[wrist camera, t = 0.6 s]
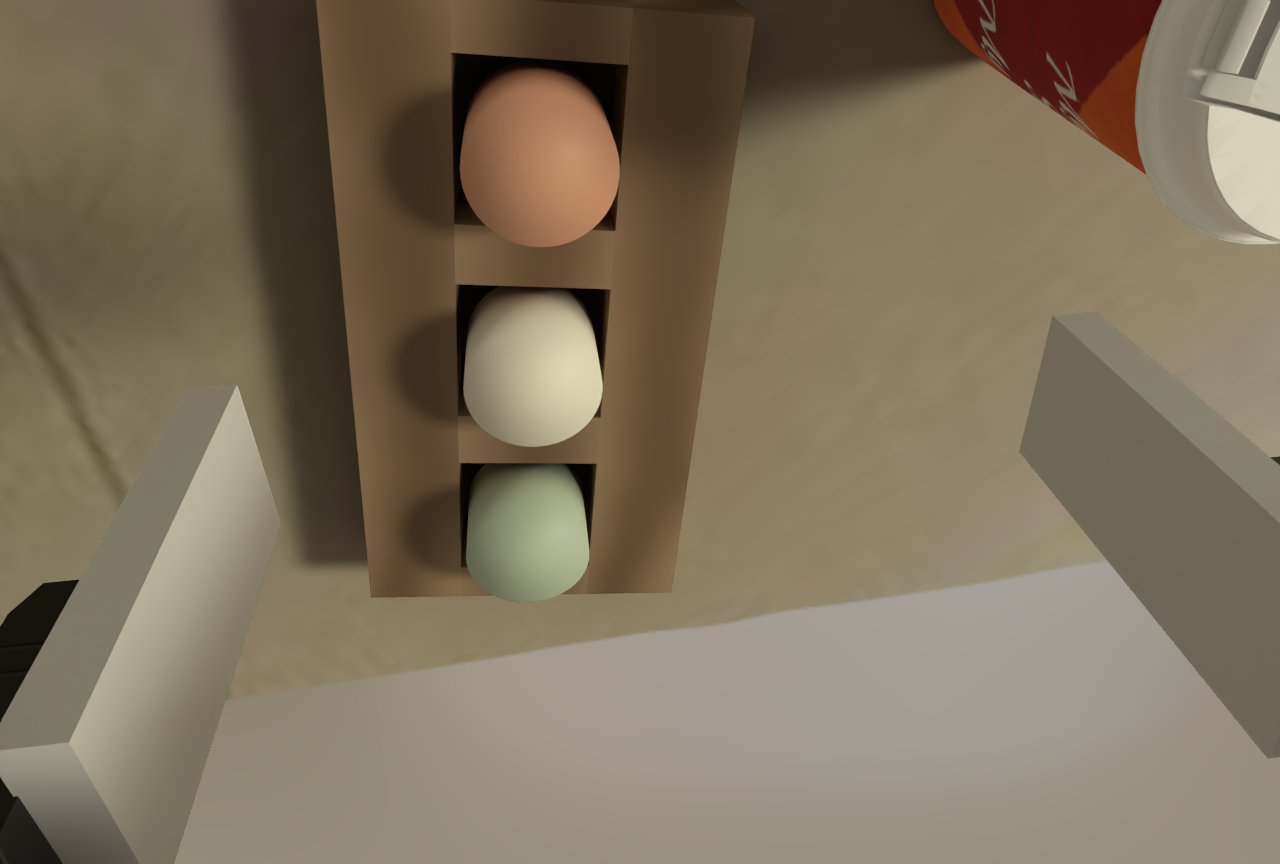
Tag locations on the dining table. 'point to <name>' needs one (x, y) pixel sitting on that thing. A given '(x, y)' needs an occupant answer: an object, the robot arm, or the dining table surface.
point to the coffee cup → (1155, 92)
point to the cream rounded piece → (531, 365)
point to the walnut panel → (527, 266)
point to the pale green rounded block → (526, 530)
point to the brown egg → (538, 155)
